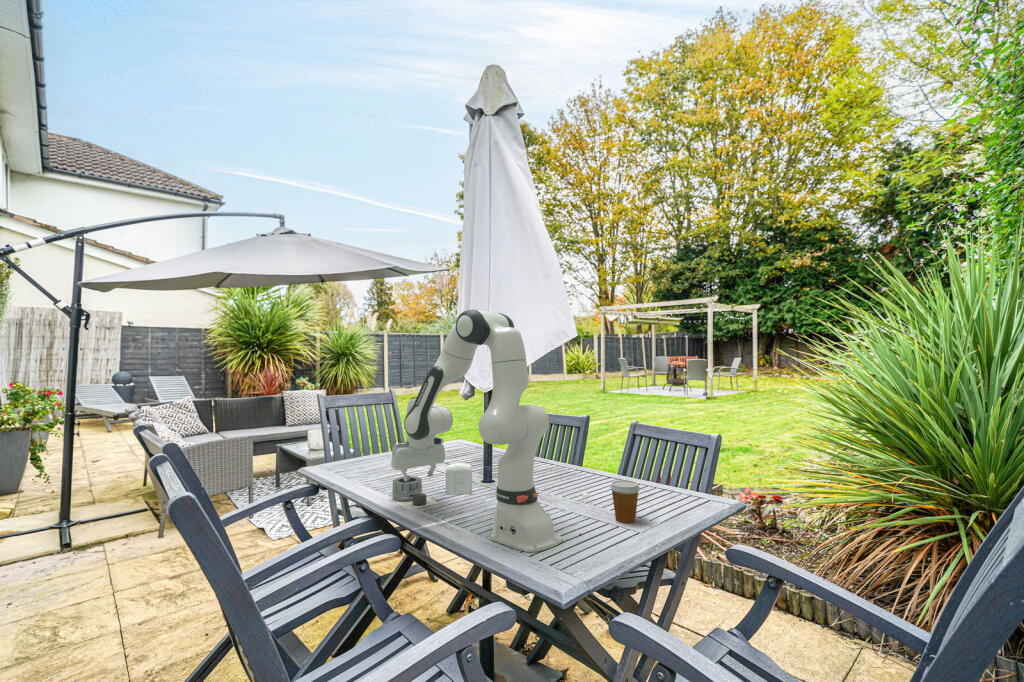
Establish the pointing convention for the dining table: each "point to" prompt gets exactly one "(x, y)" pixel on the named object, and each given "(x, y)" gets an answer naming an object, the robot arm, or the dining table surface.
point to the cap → (419, 499)
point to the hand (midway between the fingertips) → (418, 478)
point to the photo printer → (459, 479)
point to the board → (410, 504)
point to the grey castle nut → (406, 489)
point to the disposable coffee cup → (625, 500)
